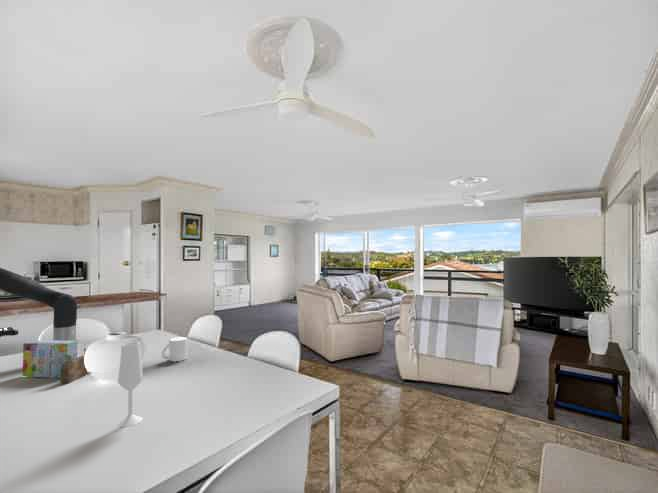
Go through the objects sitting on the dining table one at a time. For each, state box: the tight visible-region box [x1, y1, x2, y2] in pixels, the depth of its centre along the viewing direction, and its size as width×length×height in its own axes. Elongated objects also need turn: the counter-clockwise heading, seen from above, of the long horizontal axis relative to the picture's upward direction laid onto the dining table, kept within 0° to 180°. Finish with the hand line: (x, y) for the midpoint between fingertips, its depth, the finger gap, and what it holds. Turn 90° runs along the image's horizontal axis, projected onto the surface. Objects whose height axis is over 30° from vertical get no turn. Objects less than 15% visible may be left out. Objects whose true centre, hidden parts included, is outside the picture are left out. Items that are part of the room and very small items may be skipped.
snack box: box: [22, 340, 76, 379], centre depth 150 cm, size 21×6×15 cm, turn 84°
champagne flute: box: [117, 341, 144, 428], centre depth 107 cm, size 7×7×24 cm
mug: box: [161, 336, 188, 363], centre depth 171 cm, size 8×10×12 cm
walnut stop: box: [60, 347, 90, 385], centre depth 148 cm, size 15×3×11 cm, turn 179°
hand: (16, 332), depth 150 cm, fingers closed
